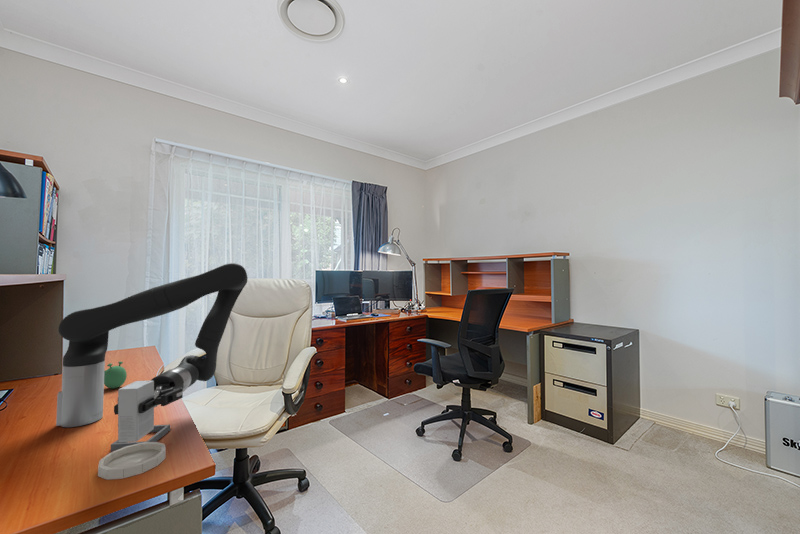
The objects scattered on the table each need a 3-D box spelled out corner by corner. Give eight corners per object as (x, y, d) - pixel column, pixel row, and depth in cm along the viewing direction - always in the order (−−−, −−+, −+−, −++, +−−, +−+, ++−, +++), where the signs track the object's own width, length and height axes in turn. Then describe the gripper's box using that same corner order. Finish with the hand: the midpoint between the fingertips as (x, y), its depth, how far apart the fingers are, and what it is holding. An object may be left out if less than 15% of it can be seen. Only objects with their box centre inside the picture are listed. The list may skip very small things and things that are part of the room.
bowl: (83, 481, 70) (83, 471, 70) (122, 451, 82) (122, 443, 82) (145, 476, 72) (146, 467, 72) (175, 448, 84) (175, 440, 84)
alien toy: (114, 384, 134) (115, 359, 134) (130, 385, 132) (131, 360, 133) (95, 390, 127) (97, 363, 127) (113, 391, 125) (114, 364, 126)
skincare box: (135, 430, 80) (136, 380, 80) (154, 429, 81) (155, 379, 81) (116, 443, 74) (117, 389, 74) (136, 442, 75) (137, 388, 75)
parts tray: (110, 451, 82) (110, 444, 82) (137, 431, 93) (137, 426, 93) (147, 448, 84) (147, 442, 84) (170, 430, 94) (170, 424, 94)
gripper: (141, 372, 91) (93, 394, 74) (197, 369, 93) (163, 391, 76) (141, 399, 91) (92, 428, 74) (197, 397, 93) (162, 424, 76)
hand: (128, 409), depth 75 cm, fingers closed on skincare box, 4 cm apart
